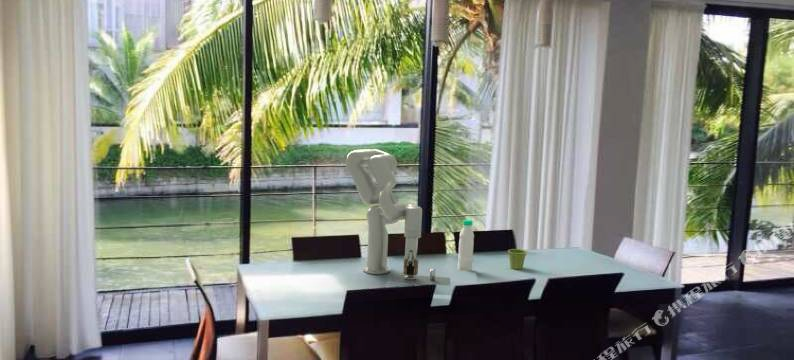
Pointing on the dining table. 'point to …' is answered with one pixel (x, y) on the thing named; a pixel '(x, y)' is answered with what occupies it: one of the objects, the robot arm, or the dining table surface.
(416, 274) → the sleeve
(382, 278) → the dining table surface
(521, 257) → the plant pot
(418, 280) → the post board
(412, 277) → the steel posts
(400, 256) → the dining table surface
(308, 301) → the dining table surface
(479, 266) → the dining table surface
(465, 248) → the water bottle
